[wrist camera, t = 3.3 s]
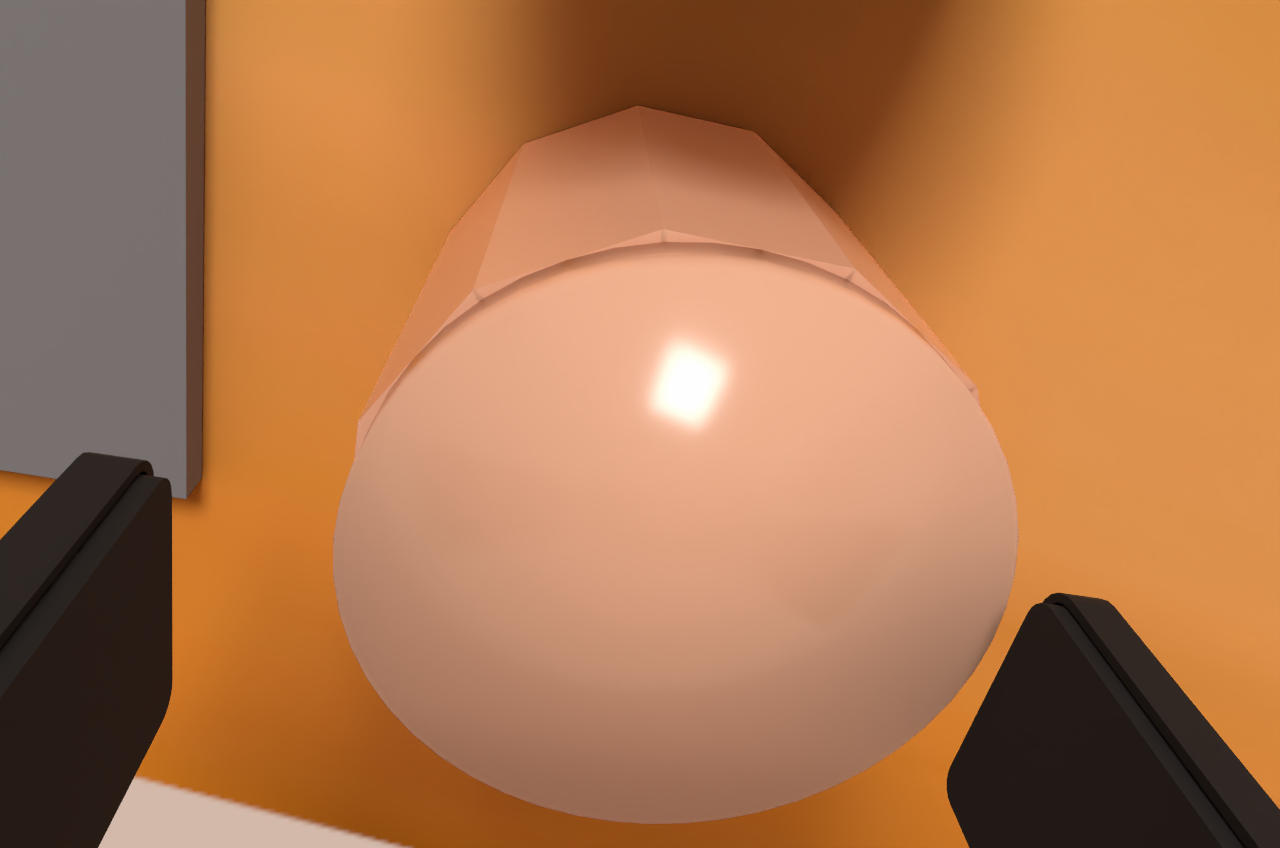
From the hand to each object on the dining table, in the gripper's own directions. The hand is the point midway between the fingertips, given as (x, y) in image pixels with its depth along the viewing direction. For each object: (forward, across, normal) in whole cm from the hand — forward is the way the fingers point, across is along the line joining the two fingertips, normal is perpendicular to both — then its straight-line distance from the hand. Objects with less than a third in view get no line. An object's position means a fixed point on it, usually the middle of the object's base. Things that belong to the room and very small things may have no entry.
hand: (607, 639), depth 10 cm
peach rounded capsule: (+8, -1, 0) cm, 9 cm away
